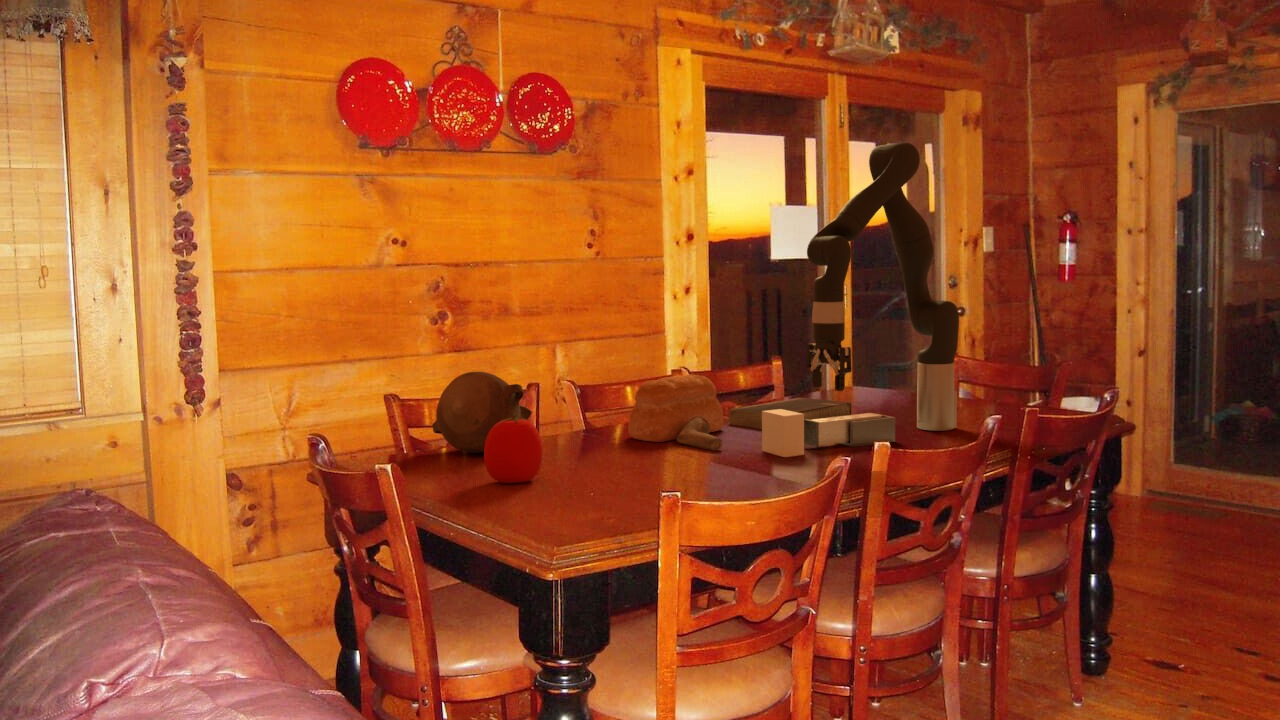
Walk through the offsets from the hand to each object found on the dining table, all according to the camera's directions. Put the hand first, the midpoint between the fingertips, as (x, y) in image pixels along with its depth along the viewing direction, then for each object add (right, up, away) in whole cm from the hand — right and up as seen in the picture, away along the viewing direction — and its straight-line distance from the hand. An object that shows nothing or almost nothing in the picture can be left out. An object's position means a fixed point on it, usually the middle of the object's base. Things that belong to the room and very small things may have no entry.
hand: (828, 388), depth 254 cm
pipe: (-29, -14, +7) cm, 33 cm away
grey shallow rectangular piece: (-3, -11, +39) cm, 41 cm away
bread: (-35, -13, +23) cm, 44 cm away
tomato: (-71, -19, -30) cm, 79 cm away
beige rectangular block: (+4, -14, +4) cm, 15 cm away
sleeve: (+10, -13, +6) cm, 18 cm away
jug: (-81, -15, +8) cm, 83 cm away
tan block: (-11, -15, -4) cm, 19 cm away
